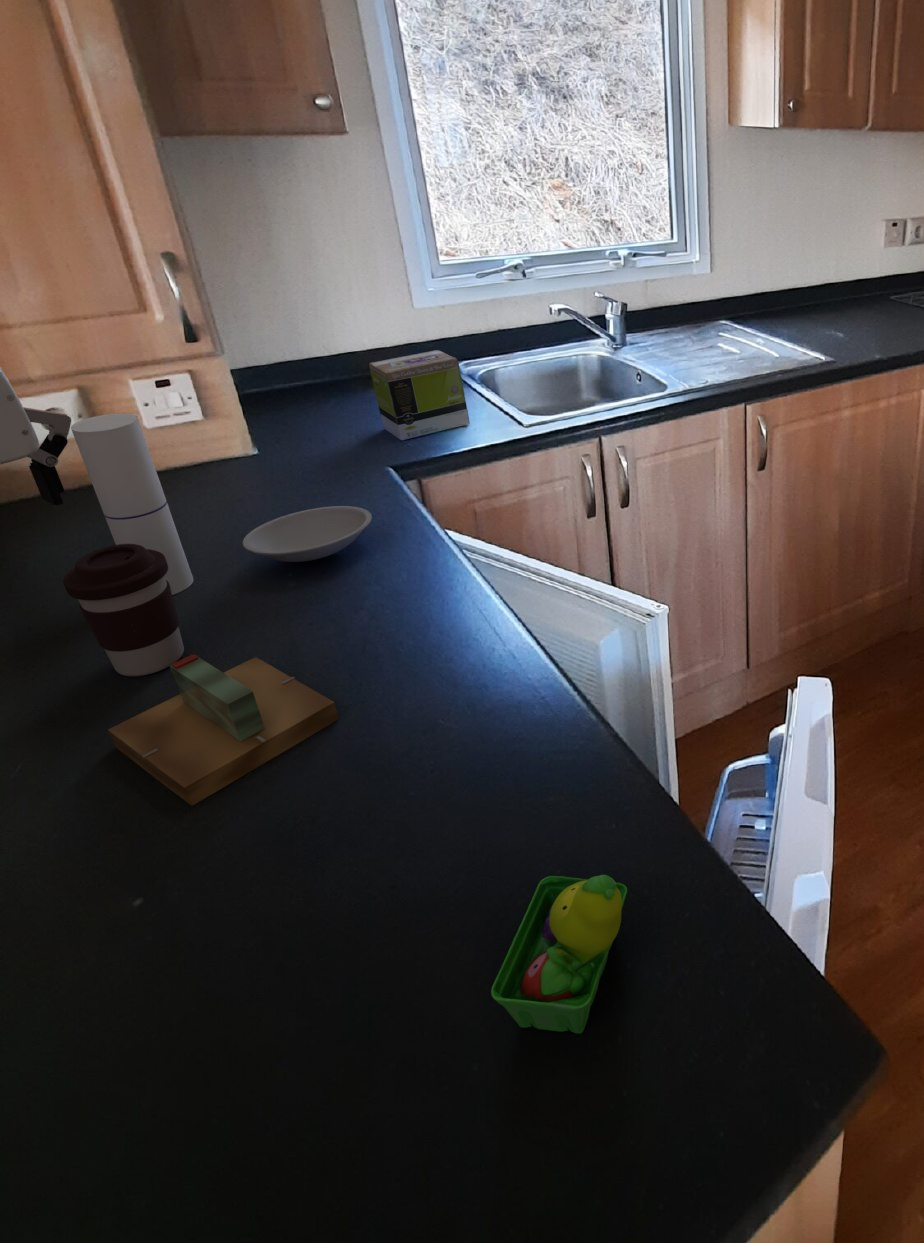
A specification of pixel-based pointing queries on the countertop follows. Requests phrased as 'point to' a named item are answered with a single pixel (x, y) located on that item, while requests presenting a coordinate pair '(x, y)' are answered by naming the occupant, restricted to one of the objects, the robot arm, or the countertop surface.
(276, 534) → the dish
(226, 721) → the green rectangular block
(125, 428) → the cylindrical container
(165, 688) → the countertop surface
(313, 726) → the base
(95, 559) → the coffee cup
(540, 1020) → the fruit basket
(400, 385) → the tea box
